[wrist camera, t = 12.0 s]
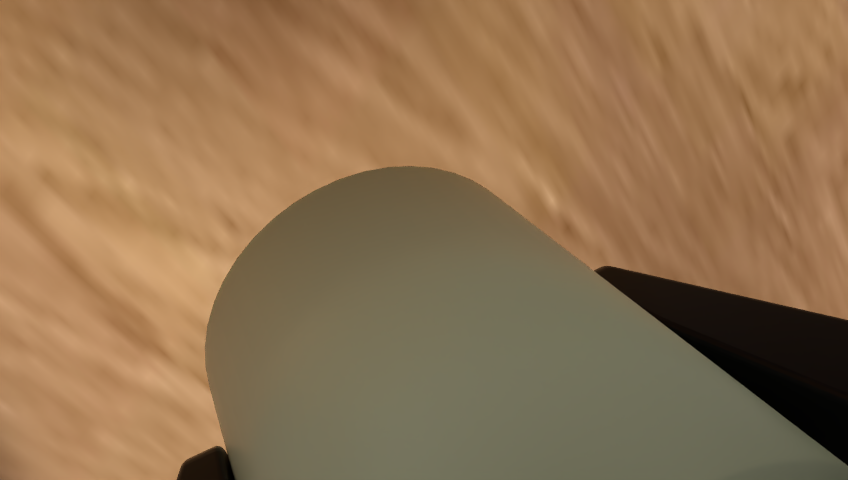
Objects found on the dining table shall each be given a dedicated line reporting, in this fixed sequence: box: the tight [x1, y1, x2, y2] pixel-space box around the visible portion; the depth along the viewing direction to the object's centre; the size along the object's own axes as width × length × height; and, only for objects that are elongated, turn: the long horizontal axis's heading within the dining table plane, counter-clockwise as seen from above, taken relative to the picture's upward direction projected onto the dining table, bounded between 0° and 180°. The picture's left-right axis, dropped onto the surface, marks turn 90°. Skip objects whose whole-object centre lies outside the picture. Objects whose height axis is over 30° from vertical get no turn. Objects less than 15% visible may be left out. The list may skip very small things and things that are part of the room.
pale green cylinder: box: [205, 166, 848, 480], centre depth 7 cm, size 4×4×5 cm
